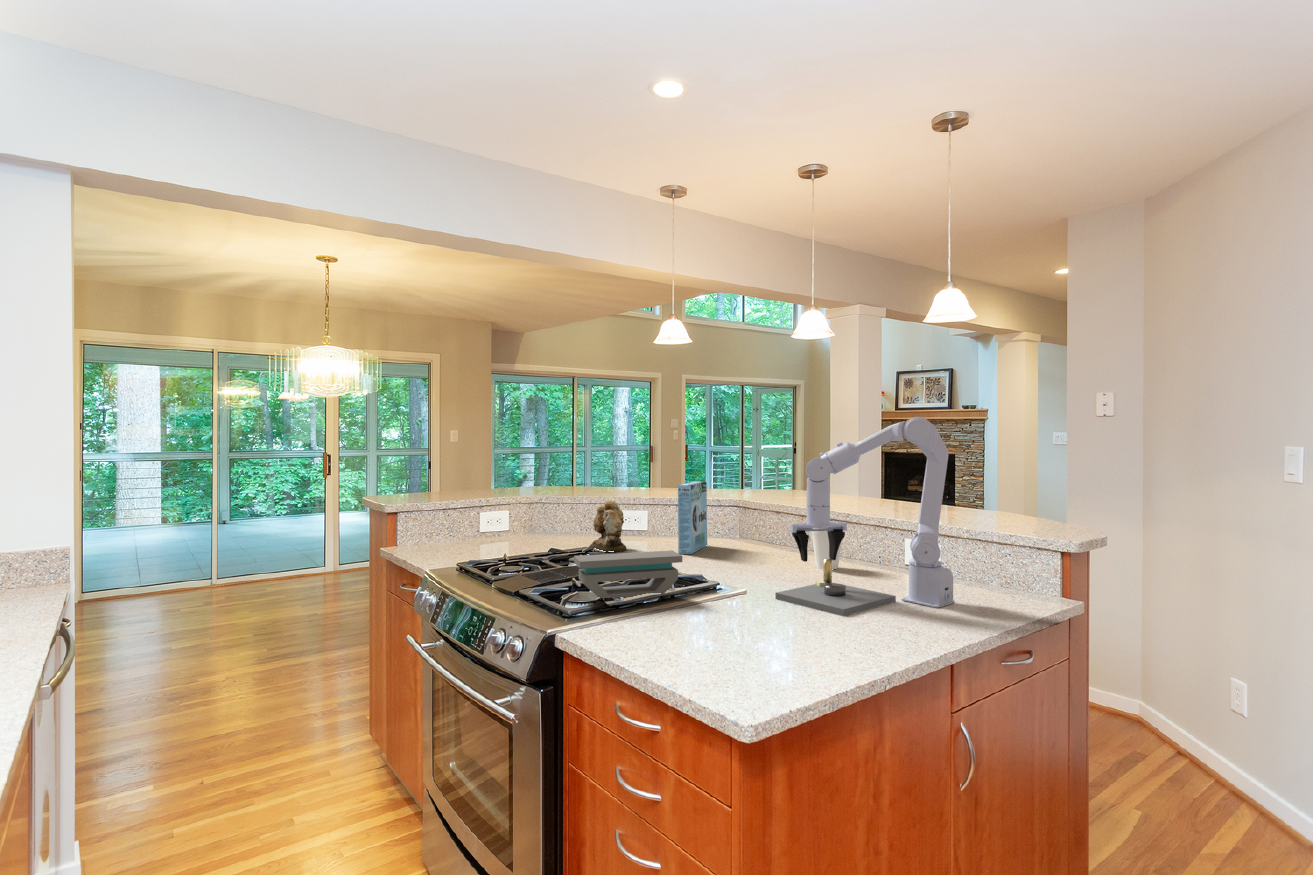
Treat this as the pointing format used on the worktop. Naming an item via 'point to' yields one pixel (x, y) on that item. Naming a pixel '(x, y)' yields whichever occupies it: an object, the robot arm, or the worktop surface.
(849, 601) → the dial plate
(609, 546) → the brown stone sculpture
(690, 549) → the gum box
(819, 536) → the foam cup
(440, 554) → the worktop surface
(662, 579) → the sharpening stone
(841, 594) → the crank
